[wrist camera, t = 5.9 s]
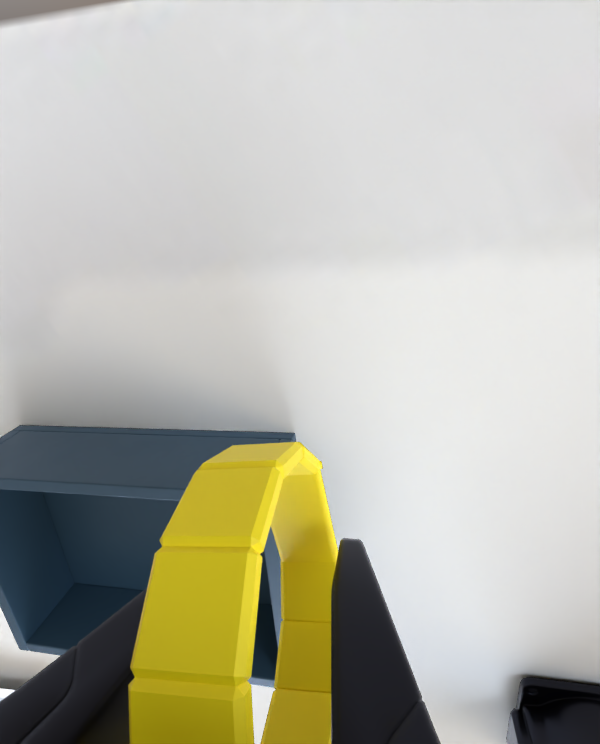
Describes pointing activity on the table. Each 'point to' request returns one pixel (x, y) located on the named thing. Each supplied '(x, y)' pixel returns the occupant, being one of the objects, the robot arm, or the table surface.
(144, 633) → the watch
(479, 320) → the table surface
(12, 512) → the organiser tray
